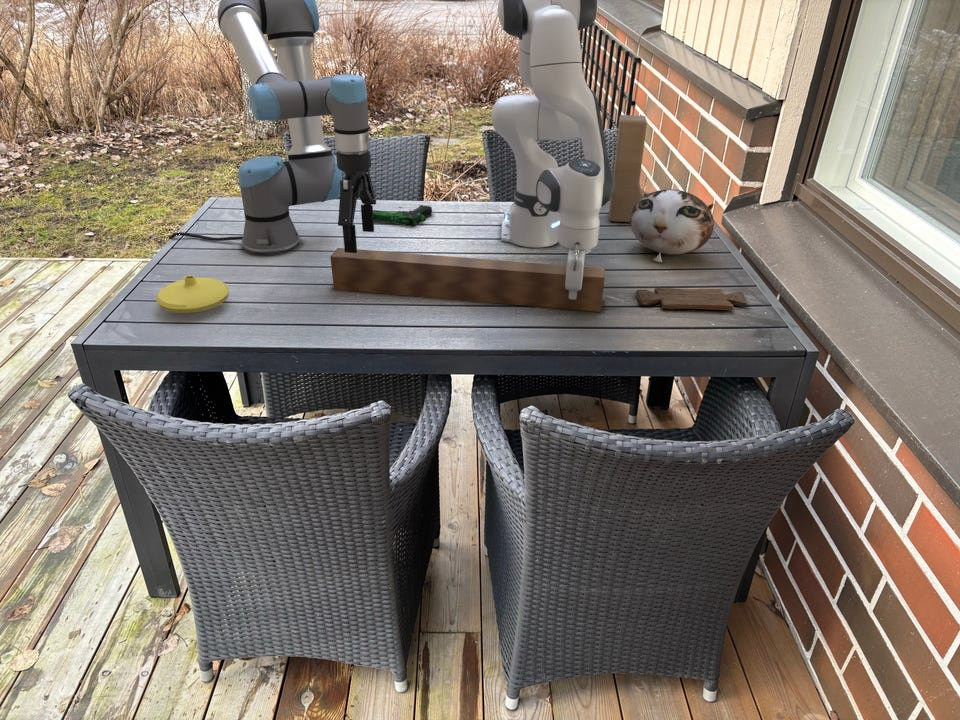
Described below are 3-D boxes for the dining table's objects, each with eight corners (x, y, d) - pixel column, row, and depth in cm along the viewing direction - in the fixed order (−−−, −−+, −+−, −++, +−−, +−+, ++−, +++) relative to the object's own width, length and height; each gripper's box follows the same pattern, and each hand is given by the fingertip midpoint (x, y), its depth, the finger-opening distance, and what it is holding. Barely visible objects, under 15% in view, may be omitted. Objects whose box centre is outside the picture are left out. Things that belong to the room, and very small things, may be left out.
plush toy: (610, 241, 188) (634, 172, 190) (626, 265, 204) (648, 200, 205) (693, 258, 178) (718, 184, 179) (703, 281, 193) (726, 213, 195)
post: (333, 289, 173) (330, 256, 169) (340, 280, 178) (337, 247, 173) (600, 312, 165) (604, 277, 160) (601, 301, 169) (604, 268, 165)
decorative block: (659, 224, 215) (674, 122, 200) (609, 221, 217) (620, 119, 201) (657, 216, 221) (672, 116, 206) (608, 213, 223) (619, 114, 208)
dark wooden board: (752, 313, 165) (739, 295, 174) (753, 306, 165) (741, 288, 173) (640, 309, 166) (633, 291, 174) (641, 302, 165) (634, 284, 173)
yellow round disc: (203, 285, 174) (198, 258, 170) (245, 302, 166) (240, 274, 162) (144, 308, 163) (137, 279, 159) (186, 328, 155) (179, 298, 151)
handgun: (437, 205, 219) (415, 219, 207) (438, 215, 220) (415, 229, 208) (391, 199, 224) (366, 212, 212) (391, 208, 226) (367, 222, 214)
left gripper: (351, 167, 147) (359, 263, 157) (385, 138, 168) (389, 224, 179) (316, 164, 148) (326, 260, 158) (354, 136, 169) (360, 222, 180)
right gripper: (591, 254, 150) (585, 312, 157) (593, 221, 167) (588, 275, 175) (561, 251, 151) (556, 310, 158) (566, 219, 168) (562, 273, 175)
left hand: (360, 241), depth 169 cm, fingers open, 13 cm apart
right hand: (573, 291), depth 166 cm, fingers closed on post, 5 cm apart
